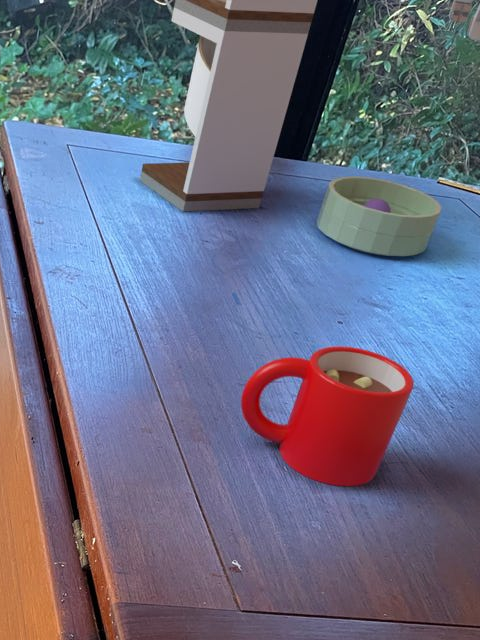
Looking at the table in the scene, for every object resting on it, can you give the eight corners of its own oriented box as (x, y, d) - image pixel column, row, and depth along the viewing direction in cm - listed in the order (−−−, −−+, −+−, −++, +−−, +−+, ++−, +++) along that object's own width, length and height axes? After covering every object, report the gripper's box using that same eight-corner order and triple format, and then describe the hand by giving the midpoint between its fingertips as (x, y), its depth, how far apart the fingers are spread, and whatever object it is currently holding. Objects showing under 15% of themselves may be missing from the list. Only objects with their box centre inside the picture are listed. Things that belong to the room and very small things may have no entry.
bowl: (414, 228, 126) (430, 187, 123) (433, 267, 116) (451, 224, 113) (310, 211, 126) (323, 169, 123) (321, 249, 116) (335, 205, 113)
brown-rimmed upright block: (213, 178, 132) (295, -158, 108) (259, 207, 125) (357, -144, 101) (139, 180, 128) (208, -169, 104) (182, 211, 121) (267, -155, 97)
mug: (231, 414, 84) (257, 327, 79) (373, 444, 83) (409, 357, 78) (226, 462, 78) (255, 371, 73) (379, 494, 77) (419, 404, 72)
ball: (381, 239, 122) (385, 212, 123) (393, 223, 119) (397, 195, 119) (352, 233, 122) (357, 206, 123) (363, 217, 119) (367, 190, 119)
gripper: (585, -115, 92) (518, 55, 101) (527, -133, 107) (474, 15, 116) (516, -124, 92) (456, 46, 101) (468, -141, 107) (420, 8, 116)
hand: (465, 29), depth 109 cm, fingers open, 8 cm apart
